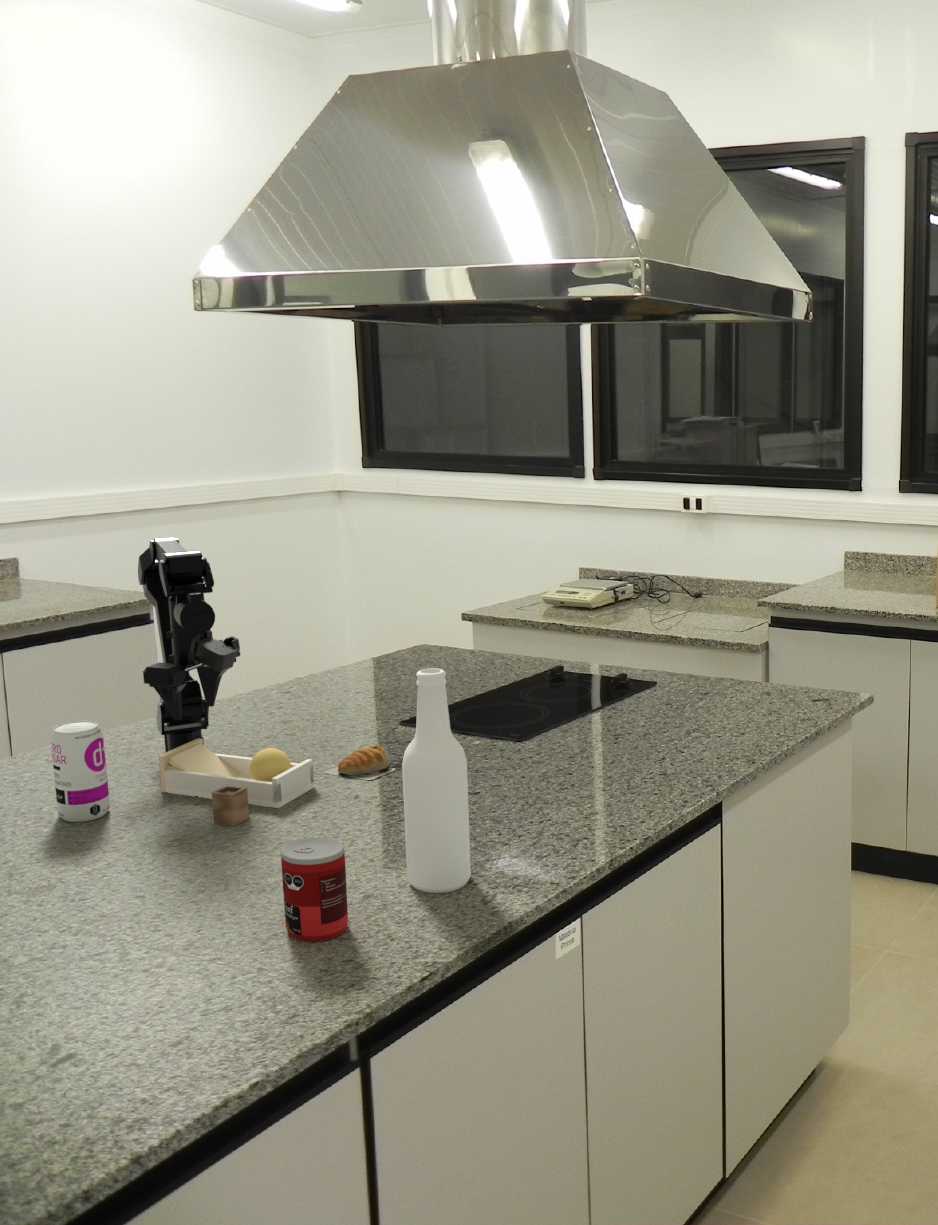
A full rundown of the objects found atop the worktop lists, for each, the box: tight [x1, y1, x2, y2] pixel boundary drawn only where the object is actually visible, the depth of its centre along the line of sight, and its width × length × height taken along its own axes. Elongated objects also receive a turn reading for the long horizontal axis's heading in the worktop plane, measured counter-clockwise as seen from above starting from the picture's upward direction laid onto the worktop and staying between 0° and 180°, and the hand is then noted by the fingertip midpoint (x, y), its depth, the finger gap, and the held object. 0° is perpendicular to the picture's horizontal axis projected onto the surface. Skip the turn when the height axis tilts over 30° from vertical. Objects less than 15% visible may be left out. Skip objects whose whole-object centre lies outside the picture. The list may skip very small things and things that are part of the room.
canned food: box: [280, 837, 349, 943], centre depth 154 cm, size 8×8×11 cm
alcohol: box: [401, 667, 472, 894], centre depth 166 cm, size 9×9×30 cm
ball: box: [249, 747, 292, 782], centre depth 206 cm, size 7×7×7 cm
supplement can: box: [50, 720, 111, 823], centre depth 199 cm, size 8×8×15 cm
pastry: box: [337, 744, 391, 776], centre depth 219 cm, size 9×7×4 cm
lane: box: [158, 738, 315, 809], centre depth 210 cm, size 24×11×6 cm, turn 65°
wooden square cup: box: [211, 785, 250, 827], centre depth 195 cm, size 4×4×5 cm
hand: (194, 712), depth 211 cm, fingers open, 9 cm apart
